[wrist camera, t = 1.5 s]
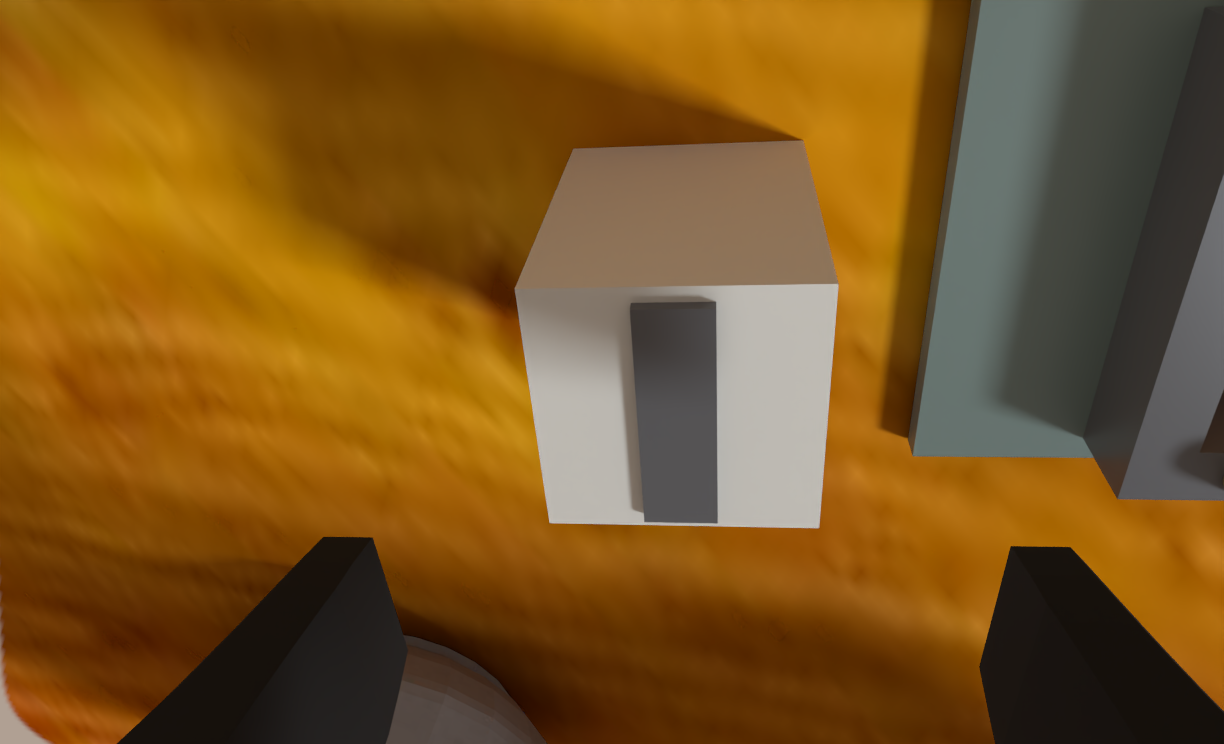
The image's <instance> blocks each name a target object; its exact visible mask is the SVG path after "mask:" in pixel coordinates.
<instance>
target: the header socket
mask: <svg viewBox="0 0 1224 744" xmlns="http://www.w3.org/2000/svg"><path fill="white" fill-rule="evenodd" d="M908 442H909V445H910V448H911V452H912V455H913V456H954V457H1083V458H1095V460H1096V462H1097V464H1098V466H1099V467H1100V469H1101V471H1102V473H1103V474H1104V476H1105V478H1106V480H1107V481H1108V483H1109V485H1110V487H1111V488H1112V490H1113V492H1114V494H1115V495H1116V497H1117V499H1152V500H1224V0H972V1H971V8H970V15H969V22H968V29H967V36H966V43H965V50H964V57H963V64H962V71H961V77H960V84H959V91H958V98H957V105H956V112H955V119H954V126H953V133H952V140H951V147H950V153H949V160H948V167H947V174H946V181H945V188H944V195H943V202H942V209H941V216H940V223H939V230H938V236H937V243H936V250H935V257H934V264H933V271H932V278H931V285H930V292H929V299H928V306H927V312H926V319H925V326H924V333H923V340H922V347H921V354H920V361H919V368H918V375H917V382H916V388H915V395H914V402H913V409H912V416H911V423H910V430H909V437H908Z"/></svg>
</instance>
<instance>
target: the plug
mask: <svg viewBox="0 0 1224 744" xmlns="http://www.w3.org/2000/svg"><path fill="white" fill-rule="evenodd" d="M515 295H516V301H517V308H518V315H519V322H520V328H521V335H522V342H523V348H524V355H525V362H526V368H527V375H528V382H529V389H530V395H531V402H532V409H533V415H534V422H535V429H536V435H537V442H538V449H539V456H540V462H541V469H542V476H543V482H544V489H545V496H546V502H547V509H548V516H549V523H572V524H625V525H678V526H730V527H783V528H819V523H820V510H821V497H822V485H823V472H824V460H825V447H826V435H827V422H828V409H829V397H830V384H831V372H832V359H833V347H834V334H835V321H836V309H837V296H838V280H837V276H836V272H835V268H834V264H833V259H832V255H831V251H830V247H829V243H828V239H827V235H826V231H825V227H824V223H823V219H822V215H821V211H820V207H819V202H818V198H817V194H816V190H815V186H814V182H813V178H812V174H811V170H810V166H809V162H808V158H807V154H806V149H805V145H804V141H803V140H798V141H770V142H743V143H715V144H688V145H660V146H633V147H605V148H577V149H573V151H572V153H571V155H570V158H569V160H568V163H567V165H566V167H565V170H564V172H563V174H562V177H561V179H560V182H559V184H558V186H557V189H556V191H555V194H554V196H553V198H552V201H551V203H550V206H549V208H548V210H547V213H546V215H545V217H544V220H543V222H542V225H541V227H540V229H539V232H538V234H537V237H536V239H535V241H534V244H533V246H532V249H531V251H530V253H529V256H528V258H527V261H526V263H525V265H524V268H523V270H522V272H521V275H520V277H519V280H518V282H517V284H516V287H515Z"/></svg>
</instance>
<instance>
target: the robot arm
mask: <svg viewBox="0 0 1224 744" xmlns="http://www.w3.org/2000/svg"><path fill="white" fill-rule="evenodd" d="M407 653H408V649H407V645H406V642H405V639H404V636H403V633H402V629H401V626H400V623H399V620H398V617H397V614H396V610H395V607H394V604H393V601H392V598H391V594H390V591H389V588H388V585H387V582H386V579H385V575H384V572H383V569H382V566H381V563H380V560H379V556H378V553H377V550H376V547H375V544H374V540H373V538H364V537H323V538H322V539H321V540H320V541H319V542H318V543H317V544H316V545H315V546H314V547H313V548H312V549H311V550H310V551H309V552H308V553H307V554H306V555H305V556H304V557H303V558H302V559H301V560H300V561H299V562H298V563H297V564H296V565H295V566H294V567H293V569H292V570H291V571H290V572H289V573H288V574H287V575H286V576H285V577H284V578H283V579H282V580H281V581H280V582H279V583H278V584H277V585H276V586H275V587H274V588H273V589H272V590H271V591H270V592H269V594H268V595H267V596H266V597H265V598H264V599H263V600H262V601H261V602H260V603H259V604H258V605H257V606H256V607H255V608H254V609H253V610H252V611H251V612H250V613H249V614H248V615H247V616H246V617H245V619H244V620H243V621H242V622H241V623H240V624H239V625H238V626H237V627H236V628H235V629H234V630H233V631H232V632H231V633H230V634H229V635H228V636H227V637H226V638H225V639H224V640H223V641H222V642H221V643H220V644H219V645H218V646H217V647H216V648H215V649H214V650H213V651H212V652H211V653H210V654H209V655H208V656H207V657H206V658H205V659H204V660H203V661H202V662H201V663H200V664H199V665H198V666H197V667H196V668H195V669H194V670H193V671H192V672H191V673H190V674H189V675H188V676H187V677H186V678H185V679H184V680H183V681H182V682H181V683H180V684H179V685H178V686H177V687H176V688H175V689H174V690H173V691H172V692H171V693H170V694H169V695H168V696H167V697H166V698H165V699H164V700H163V701H162V702H161V703H160V704H159V705H158V706H157V707H156V708H155V709H154V710H152V711H151V712H150V713H149V714H148V715H147V716H146V717H145V718H144V719H143V720H142V721H141V722H140V723H139V724H138V725H136V726H135V727H134V728H133V729H132V730H131V731H130V732H129V733H128V734H127V735H126V736H125V737H124V738H123V739H121V740H120V741H119V742H118V743H117V744H386V741H387V738H388V736H389V732H390V728H391V724H392V720H393V715H394V711H395V707H396V703H397V699H398V695H399V690H400V685H401V681H402V676H403V671H404V667H405V662H406V657H407ZM979 667H980V672H981V677H982V682H983V687H984V692H985V697H986V702H987V707H988V712H989V717H990V722H991V726H992V731H993V735H994V740H995V744H1224V711H1223V710H1222V709H1221V708H1220V707H1219V706H1218V705H1217V704H1216V703H1215V702H1214V701H1213V700H1212V699H1211V698H1210V697H1209V696H1208V695H1207V694H1206V693H1205V692H1204V691H1203V690H1202V689H1201V688H1200V687H1199V686H1198V685H1197V684H1196V682H1195V681H1194V680H1193V679H1192V678H1191V677H1190V676H1189V675H1188V674H1187V673H1186V672H1185V671H1184V670H1183V669H1182V668H1181V667H1180V666H1179V665H1178V664H1177V662H1176V661H1175V660H1174V659H1173V658H1172V657H1171V656H1170V655H1169V654H1168V653H1167V652H1166V651H1165V650H1164V648H1163V647H1162V646H1161V645H1160V644H1159V643H1158V642H1157V641H1156V640H1155V639H1154V638H1153V637H1152V636H1151V634H1150V633H1149V632H1148V631H1147V630H1146V629H1145V628H1144V627H1143V626H1142V625H1141V624H1140V623H1139V621H1138V620H1137V619H1136V618H1135V617H1134V616H1133V615H1132V614H1131V613H1130V612H1129V610H1128V609H1127V608H1126V607H1125V606H1124V605H1123V604H1122V603H1121V602H1120V601H1119V599H1118V598H1117V597H1116V596H1115V595H1114V594H1113V593H1112V592H1111V591H1110V590H1109V588H1108V587H1107V586H1106V585H1105V584H1104V583H1103V582H1102V581H1101V580H1100V579H1099V577H1098V576H1097V575H1096V574H1095V573H1094V572H1093V571H1092V570H1091V569H1090V568H1089V566H1088V565H1087V564H1086V563H1085V562H1084V561H1083V560H1082V559H1081V558H1080V557H1079V556H1078V555H1077V554H1076V553H1075V552H1074V551H1073V550H1072V549H1071V548H1070V547H1020V546H1011V548H1010V551H1009V555H1008V559H1007V563H1006V567H1005V571H1004V574H1003V578H1002V582H1001V586H1000V590H999V594H998V597H997V601H996V605H995V609H994V613H993V617H992V620H991V624H990V628H989V632H988V636H987V640H986V643H985V647H984V651H983V655H982V659H981V663H980V666H979Z"/></svg>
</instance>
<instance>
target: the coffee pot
mask: <svg viewBox="0 0 1224 744" xmlns="http://www.w3.org/2000/svg"><path fill="white" fill-rule="evenodd" d="M403 636H404V639H405V642H406V645H407V649H408V653H407V657H406V662H405V667H404V671H403V676H402V681H401V685H400V690H399V695H398V699H397V703H396V707H395V711H394V715H393V720H392V724H391V728H390V732H389V736H388V738H387V741H386V744H547V742H546V741H545V740H544V738H543V737H542V736H541V735H540V733H539V732H538V731H537V729H536V728H535V727H534V725H533V724H532V723H531V721H530V720H529V719H528V718H527V716H526V715H525V714H524V712H523V711H522V710H521V708H520V707H519V706H518V705H517V703H516V702H515V701H514V700H513V699H512V698H511V697H510V695H509V694H508V693H507V692H506V690H505V689H504V688H503V686H502V685H501V684H500V682H499V681H498V680H497V679H496V678H494V677H493V676H492V675H491V674H489V673H488V672H487V671H486V670H484V669H483V668H482V667H481V666H479V665H478V664H477V663H476V662H474V661H472V660H470V659H468V658H466V657H464V656H462V655H461V654H459V653H457V652H455V651H453V650H451V649H449V648H447V647H444V646H441V645H438V644H435V643H432V642H429V641H426V640H423V639H420V638H417V637H412V636H405V635H403Z"/></svg>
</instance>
